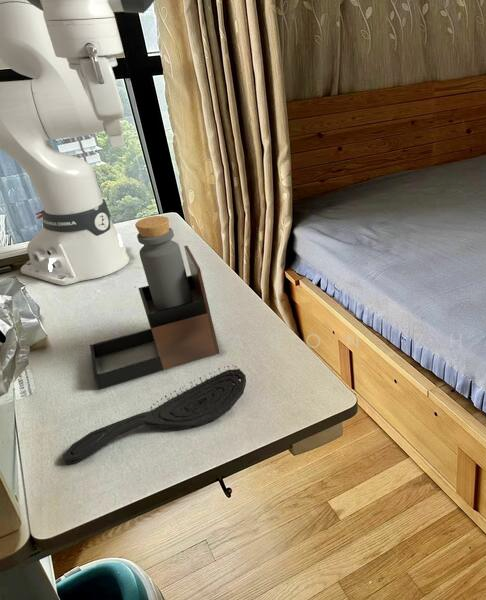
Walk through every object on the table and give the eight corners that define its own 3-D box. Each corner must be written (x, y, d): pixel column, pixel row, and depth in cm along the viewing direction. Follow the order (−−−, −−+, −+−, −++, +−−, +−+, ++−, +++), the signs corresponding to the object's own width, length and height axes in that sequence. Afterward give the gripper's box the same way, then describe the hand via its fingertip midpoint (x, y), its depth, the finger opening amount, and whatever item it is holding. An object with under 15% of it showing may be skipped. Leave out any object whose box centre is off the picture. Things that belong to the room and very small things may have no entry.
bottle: (181, 317, 86) (158, 230, 78) (148, 314, 87) (122, 227, 80) (200, 299, 91) (180, 215, 83) (169, 296, 92) (146, 213, 84)
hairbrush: (52, 428, 72) (232, 354, 84) (63, 447, 74) (237, 372, 86) (60, 467, 66) (252, 381, 78) (72, 487, 68) (258, 401, 80)
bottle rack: (98, 389, 84) (64, 300, 76) (94, 357, 91) (62, 272, 83) (219, 353, 91) (199, 268, 83) (206, 325, 99) (187, 245, 91)
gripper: (118, 45, 71) (146, 151, 78) (105, 35, 86) (129, 125, 93) (63, 48, 68) (97, 158, 75) (60, 38, 84) (88, 130, 91)
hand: (114, 139), depth 84 cm, fingers open, 8 cm apart
